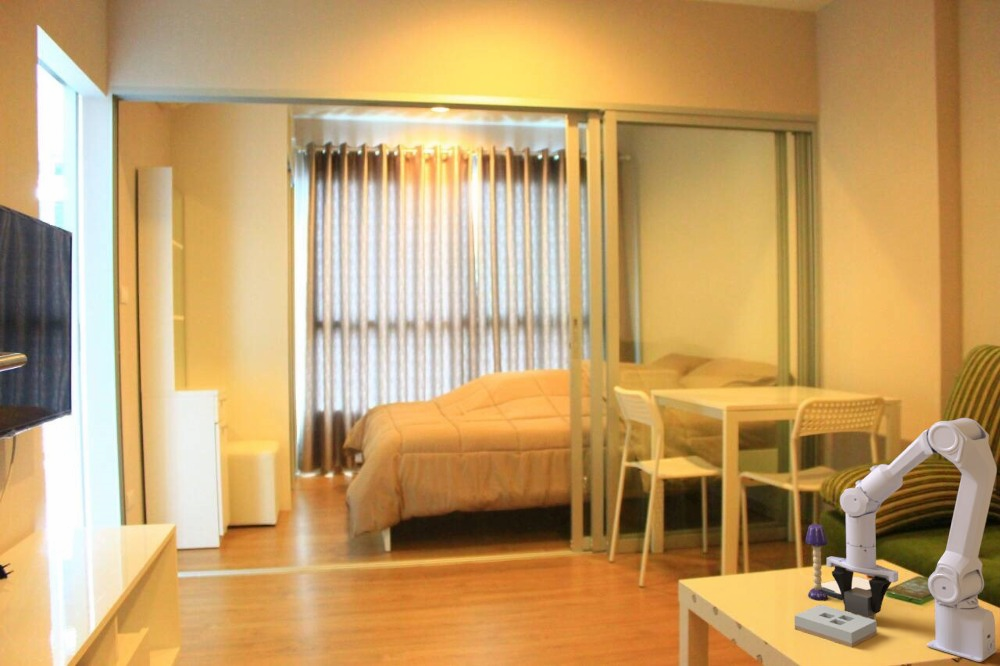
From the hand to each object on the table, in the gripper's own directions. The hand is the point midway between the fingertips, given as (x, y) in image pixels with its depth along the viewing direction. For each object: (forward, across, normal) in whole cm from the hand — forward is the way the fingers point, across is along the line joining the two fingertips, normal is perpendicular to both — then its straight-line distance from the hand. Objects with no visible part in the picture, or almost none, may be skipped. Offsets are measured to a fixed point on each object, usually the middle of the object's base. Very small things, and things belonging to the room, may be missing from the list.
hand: (861, 607), depth 161 cm
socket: (+2, 0, +11) cm, 11 cm away
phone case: (+3, +11, -16) cm, 20 cm away
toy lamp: (+3, +13, -5) cm, 14 cm away
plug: (+2, 0, 0) cm, 2 cm away
